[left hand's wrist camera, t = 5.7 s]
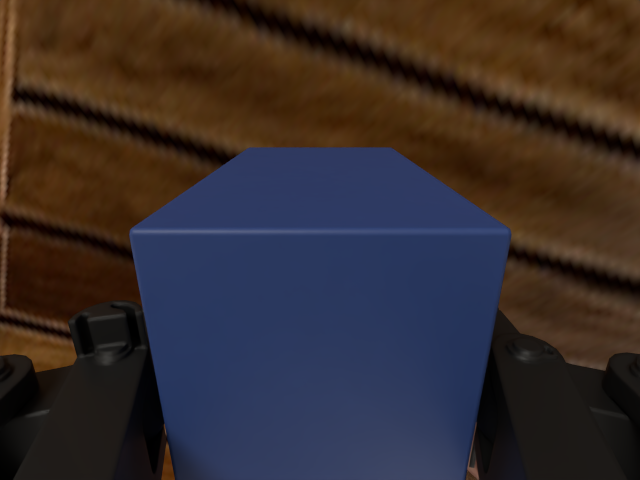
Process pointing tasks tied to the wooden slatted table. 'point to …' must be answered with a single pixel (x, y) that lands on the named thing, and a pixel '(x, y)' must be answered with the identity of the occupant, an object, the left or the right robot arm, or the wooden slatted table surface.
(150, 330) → the bar
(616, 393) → the left robot arm
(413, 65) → the wooden slatted table surface
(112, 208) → the wooden slatted table surface
